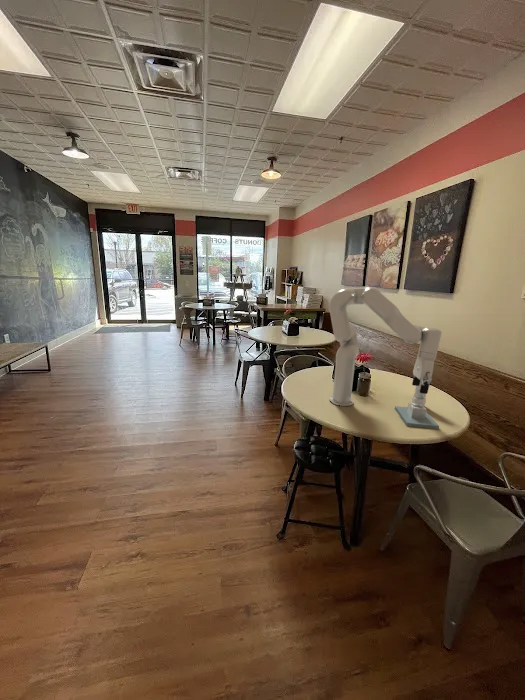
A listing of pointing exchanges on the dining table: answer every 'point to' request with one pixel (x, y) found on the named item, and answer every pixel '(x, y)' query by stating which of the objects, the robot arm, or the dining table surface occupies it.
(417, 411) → the collar
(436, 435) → the dining table surface
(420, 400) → the plastic bottle
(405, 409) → the base plate
